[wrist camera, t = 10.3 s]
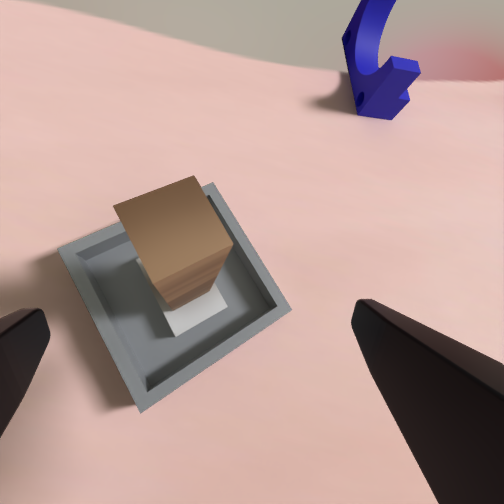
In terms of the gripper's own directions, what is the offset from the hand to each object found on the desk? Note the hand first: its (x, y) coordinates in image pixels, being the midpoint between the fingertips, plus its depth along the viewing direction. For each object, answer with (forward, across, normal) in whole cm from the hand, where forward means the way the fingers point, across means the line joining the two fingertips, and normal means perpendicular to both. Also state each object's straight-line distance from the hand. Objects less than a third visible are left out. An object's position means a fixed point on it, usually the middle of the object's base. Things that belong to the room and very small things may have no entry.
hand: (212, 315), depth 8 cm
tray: (+12, +2, +6) cm, 14 cm away
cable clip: (+30, -18, -11) cm, 37 cm away
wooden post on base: (+11, +2, +6) cm, 13 cm away
